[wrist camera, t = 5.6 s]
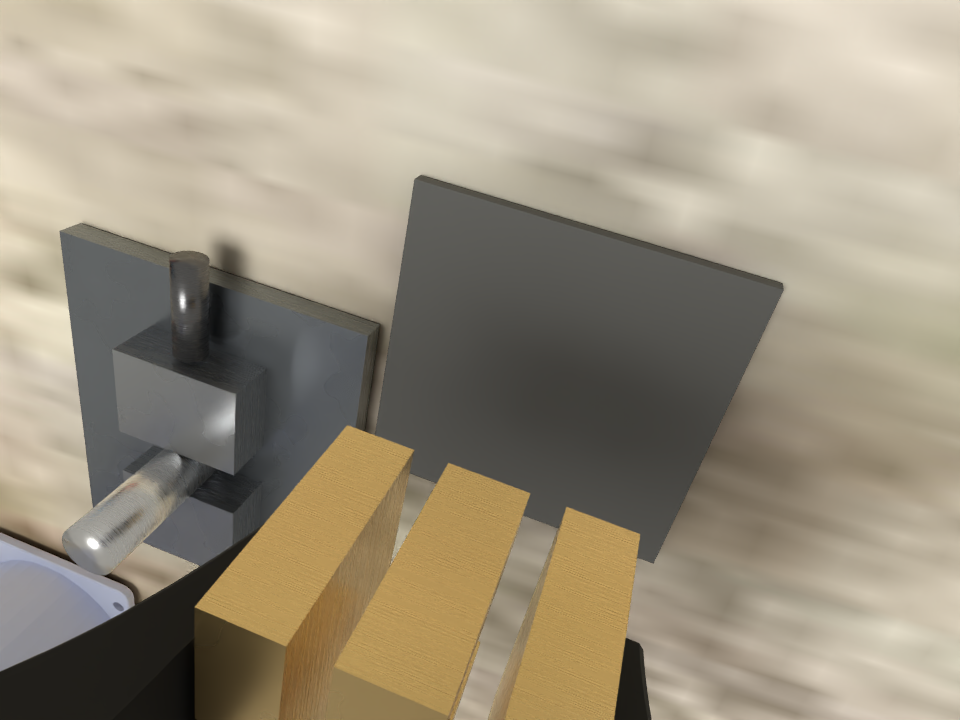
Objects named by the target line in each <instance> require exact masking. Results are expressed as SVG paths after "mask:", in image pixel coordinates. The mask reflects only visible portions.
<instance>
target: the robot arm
mask: <svg viewBox="0 0 960 720" xmlns="http://www.w3.org/2000/svg"><path fill="white" fill-rule="evenodd" d="M264 524H265V523H264ZM264 524H263V525H264ZM263 525H261V526H260V527H259V528H257V529H256V530H254V531H253V532H251V533H250V534H248V535H247V536H246V537H244V538H243V539H241V540H240V541H238V542H237V543H235V544H234V545H232V546H231V547H229V548H228V549H226V550H225V551H223V552H222V553H220V554H219V555H217V556H216V557H214V558H212V559H211V560H209V561H208V562H206V563H205V564H203V565H201V566H200V567H198V568H197V569H195V570H194V571H192V572H190V573H189V574H187V575H186V576H184V577H182V578H181V579H179V580H178V581H176V582H174V583H173V584H171V585H169V586H168V587H166V588H164V589H163V590H161V591H159V592H157V593H156V594H154V595H152V596H150V597H149V598H147V599H145V600H143V601H142V602H140V603H138V604H136V605H135V604H134V595H133V593H132V591H131V590H130V589H129V588H128V587H127V586H125V585H123V584H120V583H118V582H116V581H113V580H111V579H109V578H106V577H104V576H102V575H96V574H93V573H90V572H88V571H86V570H84V569H83V568H81V567H80V566H78V565H76V564H73V563H71V562H69V561H66V560H64V559H62V558H59V557H57V556H55V555H52V554H50V553H48V552H45V551H43V550H41V549H38V548H36V547H34V546H31V545H29V544H26V543H24V542H22V541H19V540H17V539H15V538H12V537H10V536H8V535H5V534H3V533H1V532H0V720H195V635H194V607H195V606H196V605H197V603H198V602H199V601H200V600H201V599H202V597H203V596H204V595H205V594H206V593H207V592H208V590H209V589H210V588H211V587H212V586H213V584H214V583H215V582H216V581H217V580H218V578H219V577H220V576H221V575H222V574H223V572H224V571H225V570H226V569H227V568H228V567H229V565H230V564H231V563H232V562H233V561H234V559H235V558H236V557H237V556H238V555H239V553H240V552H241V551H242V550H243V549H244V548H245V546H246V545H247V544H248V543H249V542H250V540H251V539H252V538H253V537H254V536H255V534H256V533H257V532H258V531H259V530H260V528H261V527H262V526H263ZM614 720H651V714H650V707H649V701H648V693H647V686H646V677H645V667H644V654H643V649H642V647H641V646H640V644H639V643H637V642H635V641H632V640H630V639H627V638H625V645H624V652H623V659H622V666H621V673H620V680H619V687H618V694H617V702H616V709H615V716H614Z"/></svg>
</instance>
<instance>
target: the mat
mask: <svg viewBox="0 0 960 720" xmlns="http://www.w3.org/2000/svg"><path fill="white" fill-rule="evenodd" d="M783 290H784V289H783V284H782V283H779V282H776V281H773V280H769V279H766V278H763V277H759V276H756V275H753V274H749V273H746V272H743V271H739V270H736V269H733V268H729V267H726V266H723V265H719V264H716V263H712V262H709V261H706V260H702V259H699V258H696V257H692V256H689V255H686V254H682V253H679V252H676V251H672V250H669V249H666V248H662V247H659V246H656V245H652V244H649V243H646V242H642V241H639V240H636V239H632V238H629V237H626V236H622V235H619V234H616V233H612V232H609V231H605V230H602V229H599V228H595V227H592V226H589V225H585V224H582V223H579V222H575V221H572V220H569V219H565V218H562V217H559V216H555V215H552V214H549V213H545V212H542V211H539V210H535V209H532V208H529V207H525V206H522V205H519V204H515V203H512V202H508V201H505V200H502V199H498V198H495V197H492V196H488V195H485V194H482V193H478V192H475V191H472V190H468V189H465V188H462V187H458V186H455V185H452V184H448V183H445V182H442V181H438V180H435V179H432V178H428V177H425V176H422V175H420V176H419V177H417V178H415V180H414V187H413V193H412V199H411V206H410V212H409V219H408V225H407V232H406V238H405V245H404V251H403V258H402V264H401V271H400V277H399V284H398V290H397V296H396V303H395V309H394V316H393V322H392V329H391V335H390V342H389V348H388V355H387V361H386V368H385V374H384V381H383V387H382V393H381V400H380V406H379V413H378V419H377V426H376V432H375V436H378V437H381V438H383V439H386V440H389V441H391V442H394V443H397V444H399V445H402V446H405V447H408V448H410V449H413V450H414V454H413V459H412V463H411V468H410V474H413V475H416V476H419V477H421V478H424V479H427V480H429V481H432V482H435V483H437V482H438V481H439V479H440V477H441V475H442V473H443V472H444V470H445V468H446V466H447V465H448V463H450V464H453V465H456V466H458V467H461V468H464V469H467V470H469V471H472V472H475V473H477V474H480V475H483V476H485V477H488V478H491V479H493V480H496V481H499V482H501V483H504V484H507V485H509V486H512V487H515V488H518V489H520V490H523V491H526V492H528V493H530V496H529V499H528V502H527V505H526V508H525V511H524V514H523V515H524V516H527V517H529V518H532V519H535V520H537V521H540V522H543V523H545V524H548V525H551V526H554V527H556V528H559V525H560V523H561V520H562V517H563V515H564V512H565V509H566V507H568V508H571V509H574V510H577V511H579V512H582V513H585V514H587V515H590V516H593V517H595V518H598V519H601V520H603V521H606V522H609V523H611V524H614V525H617V526H619V527H622V528H625V529H628V530H630V531H633V532H636V533H638V534H640V540H639V547H638V554H637V558H640V559H643V560H645V561H648V562H651V563H654V561H655V559H656V557H657V555H658V553H659V551H660V549H661V546H662V544H663V542H664V540H665V538H666V536H667V534H668V532H669V530H670V528H671V525H672V523H673V521H674V519H675V517H676V515H677V513H678V511H679V509H680V507H681V504H682V502H683V500H684V498H685V496H686V494H687V492H688V490H689V488H690V486H691V483H692V481H693V479H694V477H695V475H696V473H697V471H698V469H699V467H700V465H701V462H702V460H703V458H704V456H705V454H706V452H707V450H708V448H709V446H710V444H711V441H712V439H713V437H714V435H715V433H716V431H717V429H718V427H719V425H720V423H721V420H722V418H723V416H724V414H725V412H726V410H727V408H728V406H729V404H730V402H731V399H732V397H733V395H734V393H735V391H736V389H737V387H738V385H739V383H740V381H741V378H742V376H743V374H744V372H745V370H746V368H747V366H748V364H749V362H750V360H751V357H752V355H753V353H754V351H755V349H756V347H757V345H758V343H759V341H760V339H761V336H762V334H763V332H764V330H765V328H766V326H767V324H768V322H769V320H770V318H771V315H772V313H773V311H774V309H775V307H776V305H777V303H778V301H779V299H780V297H781V294H782V292H783Z"/></svg>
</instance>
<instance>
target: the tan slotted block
mask: <svg viewBox="0 0 960 720" xmlns="http://www.w3.org/2000/svg"><path fill="white" fill-rule="evenodd" d="M413 454H414V450H413V449H410V448H408V447H405V446H402V445H399V444H397V443H394V442H391V441H389V440H386V439H383V438H381V437H378V436H375V435H373V434H370V433H367V432H365V431H362V430H359V429H357V428H354V427H351V426H348V425H347V426H346V427H345V429H344V430H343V431H342V432H341V433H340V435H339V436H338V437H337V438H336V439H335V440H334V442H333V443H332V444H331V445H330V446H329V448H328V449H327V450H326V451H325V452H324V454H323V455H322V456H321V457H320V458H319V459H318V461H317V462H316V463H315V464H314V465H313V467H312V468H311V469H310V470H309V471H308V473H307V474H306V475H305V476H304V477H303V479H302V480H301V481H300V482H299V483H298V484H297V486H296V487H295V488H294V489H293V490H292V492H291V493H290V494H289V495H288V496H287V498H286V499H285V500H284V501H283V502H282V503H281V505H280V506H279V507H278V508H277V509H276V511H275V512H274V513H273V514H272V515H271V517H270V518H269V519H268V520H267V521H266V523H265V524H264V525H263V526H262V527H261V528H260V530H259V531H258V532H257V533H256V534H255V536H254V537H253V538H252V539H251V540H250V542H249V543H248V544H247V545H246V546H245V548H244V549H243V550H242V551H241V552H240V553H239V555H238V556H237V557H236V558H235V559H234V561H233V562H232V563H231V564H230V565H229V567H228V568H227V569H226V570H225V571H224V572H223V574H222V575H221V576H220V577H219V578H218V580H217V581H216V582H215V583H214V584H213V586H212V587H211V588H210V589H209V590H208V592H207V593H206V594H205V595H204V596H203V597H202V599H201V600H200V601H199V602H198V603H197V605H196V606H195V607H194V635H195V720H453V719H454V717H455V714H456V711H457V708H458V705H459V703H460V700H461V697H462V694H463V692H464V689H465V686H466V683H467V680H468V677H469V675H470V672H471V669H472V666H473V663H474V660H475V657H476V654H477V651H478V648H479V645H480V642H479V641H478V640H479V637H480V634H481V631H482V629H483V626H484V623H485V620H486V618H487V615H488V612H489V609H490V607H491V604H492V601H493V599H494V596H495V593H496V590H497V588H498V585H499V582H500V579H501V577H502V574H503V571H504V568H505V566H506V563H507V560H508V558H509V555H510V552H511V549H512V547H513V544H514V541H515V538H516V535H517V532H518V529H519V526H520V523H521V520H522V517H523V514H524V511H525V508H526V505H527V502H528V499H529V496H530V493H528V492H526V491H523V490H520V489H518V488H515V487H512V486H509V485H507V484H504V483H501V482H499V481H496V480H493V479H491V478H488V477H485V476H483V475H480V474H477V473H475V472H472V471H469V470H467V469H464V468H461V467H458V466H456V465H453V464H450V463H448V465H447V466H446V468H445V470H444V472H443V473H442V475H441V477H440V479H439V481H438V482H437V484H436V486H435V488H434V489H433V491H432V493H431V495H430V497H429V498H428V500H427V502H426V504H425V505H424V507H423V509H422V511H421V513H420V514H419V516H418V518H417V520H416V521H415V523H414V525H413V527H412V529H411V530H410V532H409V534H408V536H407V537H406V539H405V541H404V543H403V544H402V546H401V548H400V550H399V552H398V553H397V555H396V557H395V559H394V560H393V562H392V564H391V559H392V554H393V549H394V545H395V540H396V535H397V530H398V525H399V521H400V516H401V511H402V506H403V502H404V497H405V492H406V487H407V483H408V478H409V473H410V468H411V463H412V459H413ZM639 540H640V534H638V533H636V532H633V531H630V530H628V529H625V528H622V527H619V526H617V525H614V524H611V523H609V522H606V521H603V520H601V519H598V518H595V517H593V516H590V515H587V514H585V513H582V512H579V511H577V510H574V509H571V508H568V507H566V509H565V512H564V515H563V517H562V520H561V523H560V525H559V528H558V531H557V533H556V536H555V538H554V541H553V544H552V546H551V549H550V552H549V554H548V557H547V560H546V562H545V565H544V568H543V570H542V573H541V575H540V578H539V581H538V583H537V586H536V589H535V591H534V594H533V597H532V599H531V602H530V605H529V607H528V610H527V613H526V615H525V618H524V620H523V623H522V626H521V628H520V631H519V634H518V636H517V639H516V642H515V644H514V647H513V650H512V652H511V655H510V657H509V660H508V663H507V665H506V668H505V671H504V673H503V676H502V679H501V681H500V684H499V687H498V689H497V692H496V695H495V698H494V701H493V705H492V708H491V711H490V714H489V717H488V720H614V716H615V709H616V702H617V694H618V687H619V680H620V673H621V666H622V659H623V652H624V645H625V638H626V631H627V624H628V617H629V610H630V603H631V596H632V589H633V582H634V575H635V568H636V561H637V554H638V547H639ZM390 564H391V566H390Z"/></svg>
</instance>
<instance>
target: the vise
mask: <svg viewBox="0 0 960 720" xmlns="http://www.w3.org/2000/svg"><path fill="white" fill-rule="evenodd" d="M60 238H61V247H62V255H63V263H64V271H65V280H66V288H67V296H68V305H69V313H70V321H71V329H72V338H73V346H74V354H75V363H76V371H77V379H78V387H79V396H80V404H81V412H82V420H83V429H84V437H85V445H86V454H87V462H88V470H89V478H90V487H91V495H92V503H93V509H91V510H90V511H89V512H88V513H87V514H85V515H84V516H83V517H82V518H81V519H79V520H78V521H77V522H76V523H75V524H73V525H72V526H71V527H70V528H69V529H67V530H66V531H65V532H64V534H63V536H62V542H63V546H64V548H65V550H66V552H67V554H68V555H69V556H70V558H71V559H72V560H73V561H74V562H75V563H76V564H77V565H79V566H80V567H81V568H83V569H84V570H86V571H88V572H90V573H93V574H96V575H107V574H109V573H110V572H112V571H113V570H114V569H115V568H116V567H117V566H118V565H119V564H120V563H121V562H122V561H123V560H124V559H125V558H126V557H127V556H128V555H129V554H130V553H131V552H132V551H133V550H134V549H135V548H136V547H137V546H139V545H140V544H141V543H142V542H144V543H146V544H149V545H151V546H153V547H156V548H158V549H161V550H163V551H166V552H168V553H170V554H173V555H175V556H178V557H180V558H183V559H185V560H187V561H190V562H192V563H195V564H197V565H199V566H201V565H203V564H205V563H206V562H208V561H209V560H211V559H212V558H214V557H216V556H217V555H219V554H220V553H222V552H223V551H225V550H226V549H228V548H229V547H231V546H232V545H234V544H235V543H237V542H238V541H240V540H241V539H243V538H244V537H246V536H247V535H248V534H250V533H251V532H253V531H254V530H256V529H257V528H259V527H260V526H261V525H263V524H264V523H266V521H267V520H268V519H269V518H270V517H271V515H272V514H273V513H274V512H275V511H276V509H277V508H278V507H279V506H280V505H281V503H282V502H283V501H284V500H285V499H286V498H287V496H288V495H289V494H290V493H291V492H292V490H293V489H294V488H295V487H296V486H297V484H298V483H299V482H300V481H301V480H302V479H303V477H304V476H305V475H306V474H307V473H308V471H309V470H310V469H311V468H312V467H313V465H314V464H315V463H316V462H317V461H318V459H319V458H320V457H321V456H322V455H323V454H324V452H325V451H326V450H327V449H328V448H329V446H330V445H331V444H332V443H333V442H334V440H335V439H336V438H337V437H338V436H339V435H340V433H341V432H342V431H343V430H344V429H345V427H346V426H347V425H348V426H351V427H354V428H357V429H359V430H362V431H365V424H366V417H367V410H368V403H369V396H370V389H371V382H372V376H373V369H374V362H375V355H376V348H377V341H378V334H379V327H380V324H378V323H375V322H372V321H369V320H366V319H363V318H360V317H357V316H354V315H351V314H348V313H345V312H342V311H339V310H336V309H333V308H330V307H327V306H324V305H321V304H318V303H315V302H312V301H309V300H306V299H304V298H301V297H298V296H295V295H292V294H289V293H286V292H283V291H280V290H277V289H274V288H271V287H268V286H265V285H262V284H259V283H256V282H253V281H250V280H247V279H244V278H241V277H238V276H235V275H232V274H229V273H226V272H224V271H221V270H218V269H215V268H212V267H209V258H208V257H207V256H206V255H205V254H202V253H199V252H195V251H180V252H176V253H173V254H170V253H167V252H164V251H161V250H158V249H155V248H152V247H149V246H146V245H144V244H141V243H138V242H135V241H132V240H129V239H126V238H123V237H120V236H117V235H114V234H111V233H108V232H105V231H102V230H99V229H96V228H93V227H90V226H87V225H84V224H81V223H80V224H77V225H74V226H72V227H69V228H66V229H64V230H61V231H60Z"/></svg>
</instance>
